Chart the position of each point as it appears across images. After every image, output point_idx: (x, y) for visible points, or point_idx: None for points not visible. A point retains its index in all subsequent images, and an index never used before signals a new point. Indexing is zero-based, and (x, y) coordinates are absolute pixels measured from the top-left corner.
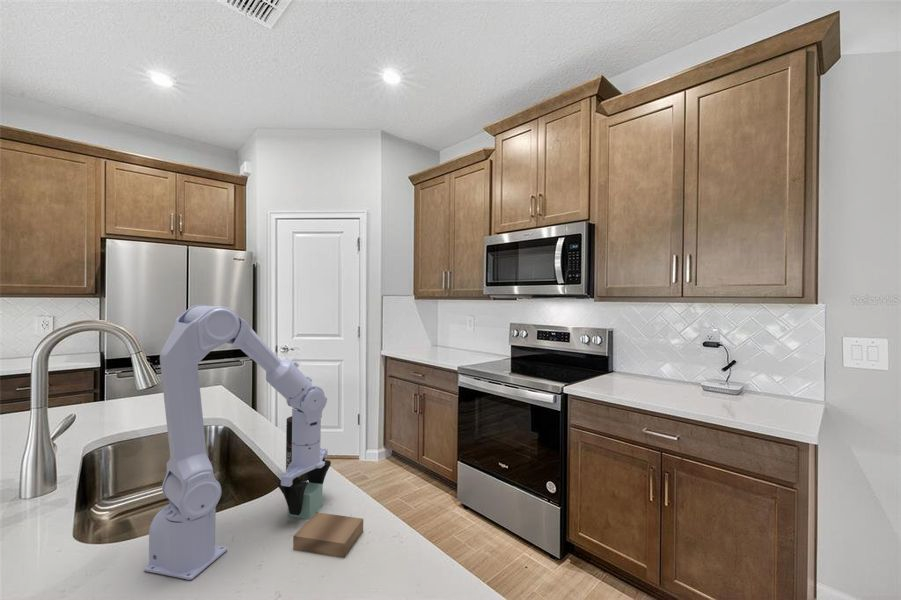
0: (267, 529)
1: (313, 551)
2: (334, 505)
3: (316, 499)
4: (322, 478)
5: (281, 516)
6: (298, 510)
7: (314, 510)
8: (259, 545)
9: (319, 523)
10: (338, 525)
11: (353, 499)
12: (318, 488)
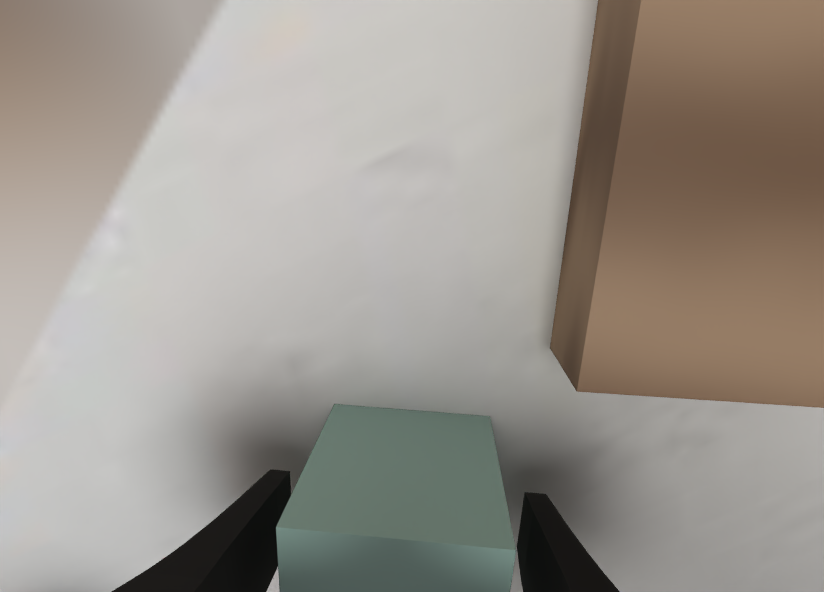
0: (623, 577)
1: None
2: (301, 333)
3: (399, 468)
4: (208, 573)
5: None
6: (563, 522)
7: (431, 426)
8: (778, 549)
9: (753, 296)
10: (799, 102)
11: (186, 235)
12: (354, 528)
